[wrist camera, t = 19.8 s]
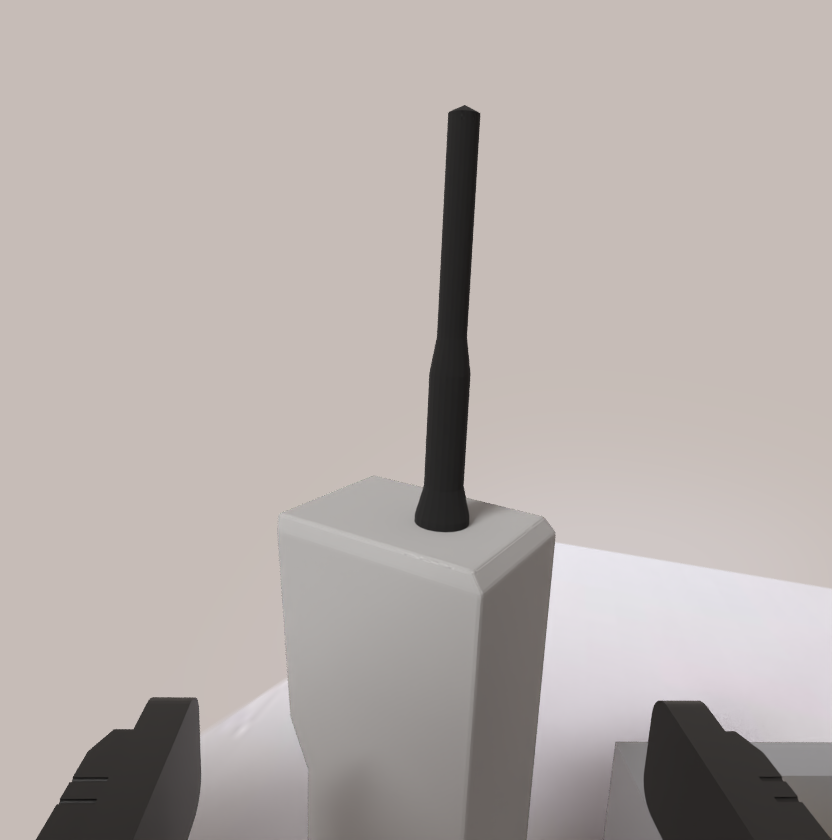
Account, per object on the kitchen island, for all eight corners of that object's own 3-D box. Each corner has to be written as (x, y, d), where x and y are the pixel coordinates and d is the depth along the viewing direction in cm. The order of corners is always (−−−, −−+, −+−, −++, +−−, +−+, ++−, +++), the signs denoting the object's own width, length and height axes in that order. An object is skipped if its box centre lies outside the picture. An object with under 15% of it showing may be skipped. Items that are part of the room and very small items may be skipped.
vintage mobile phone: (359, 980, 21) (385, 132, 16) (503, 1083, 19) (596, 117, 13) (276, 1098, 18) (272, 97, 13) (435, 1241, 16) (518, 68, 10)
